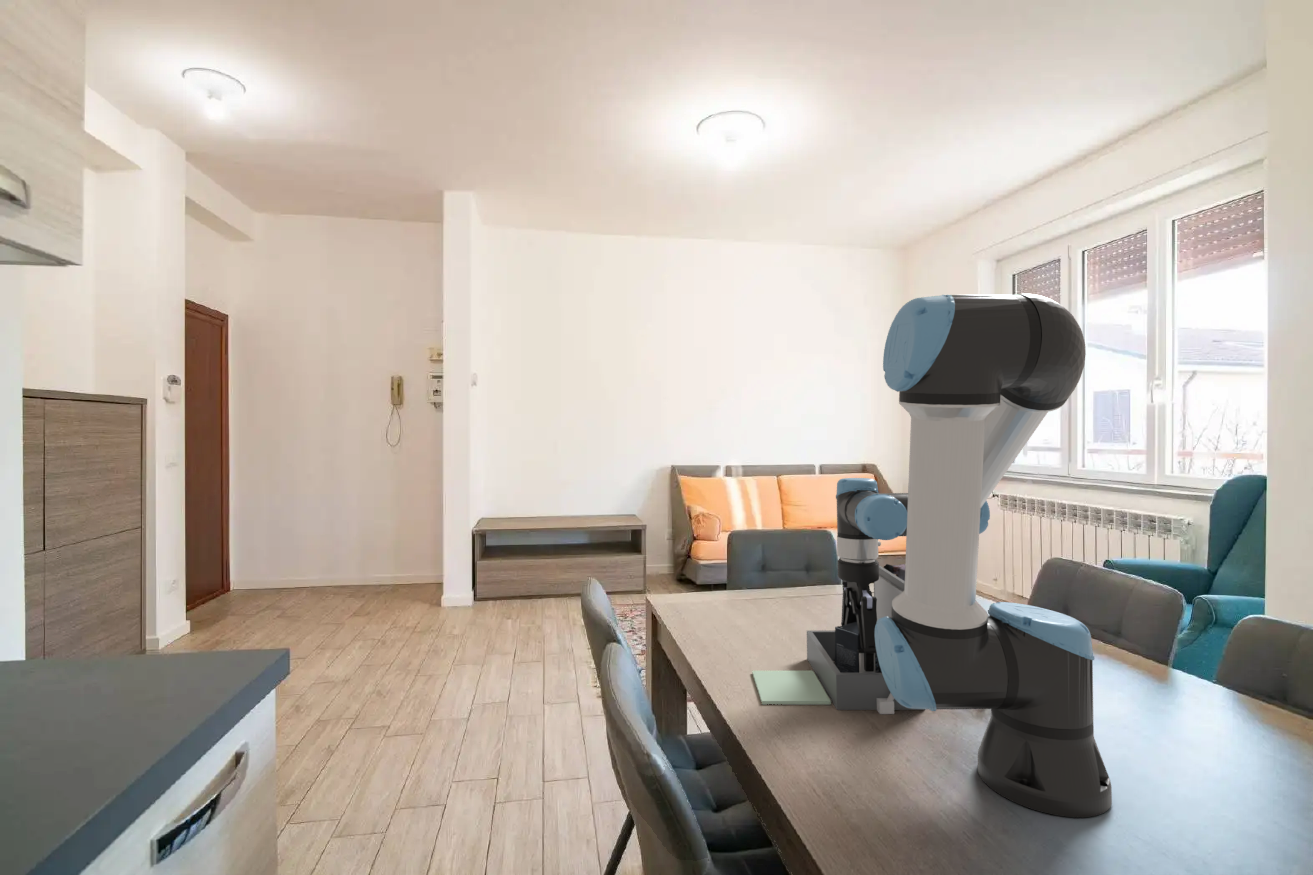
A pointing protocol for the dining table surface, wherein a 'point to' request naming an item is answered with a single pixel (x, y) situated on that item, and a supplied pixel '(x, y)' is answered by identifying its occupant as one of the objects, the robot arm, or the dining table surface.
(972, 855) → the dining table surface
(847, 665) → the box
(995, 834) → the dining table surface
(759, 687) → the pad
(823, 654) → the case
